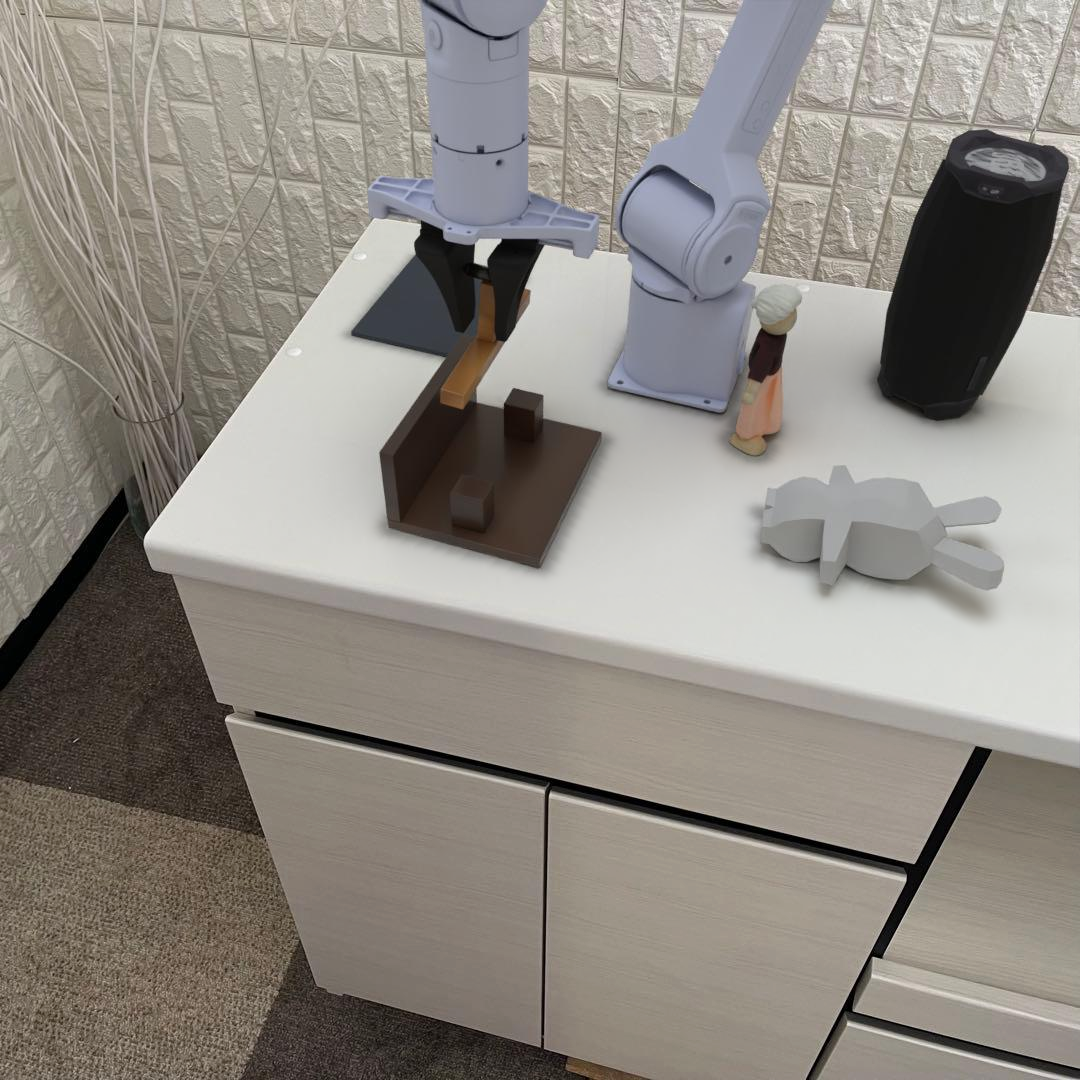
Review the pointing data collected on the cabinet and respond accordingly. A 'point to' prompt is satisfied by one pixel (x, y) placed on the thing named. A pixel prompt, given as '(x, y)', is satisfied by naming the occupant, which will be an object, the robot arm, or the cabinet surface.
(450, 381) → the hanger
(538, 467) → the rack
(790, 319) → the grandmother figurine
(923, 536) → the bunny figurine
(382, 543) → the cabinet surface
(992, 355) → the portable speaker
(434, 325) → the pad
